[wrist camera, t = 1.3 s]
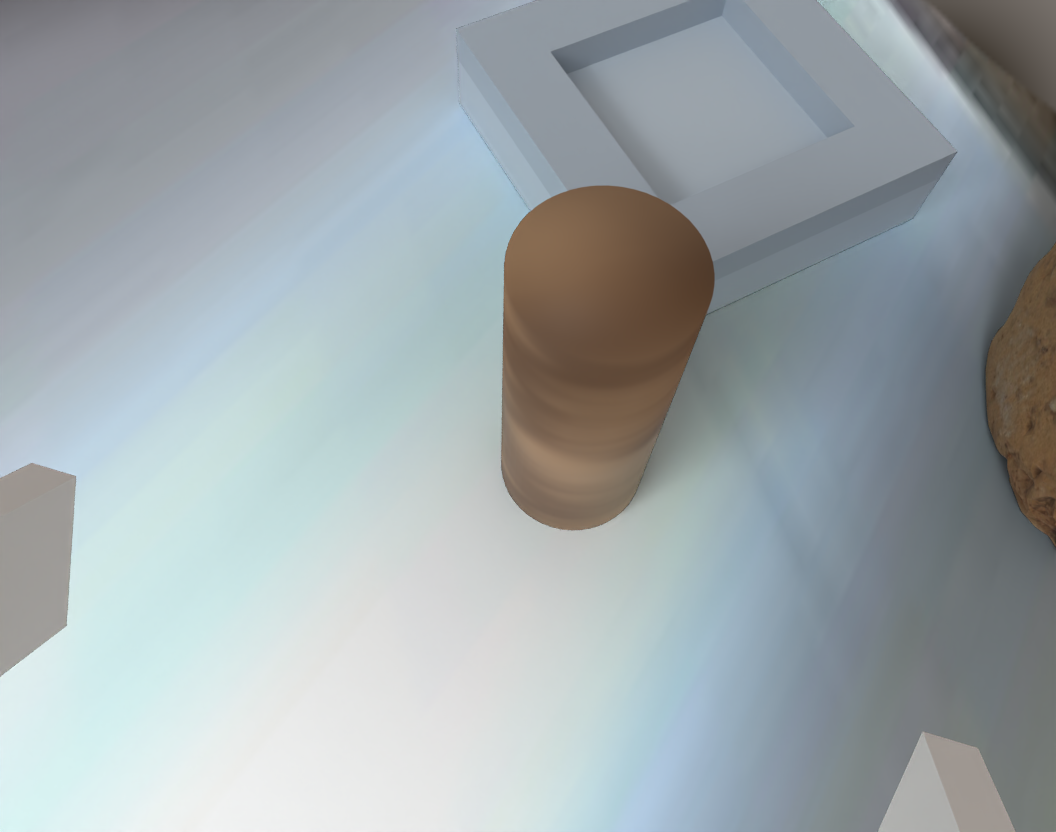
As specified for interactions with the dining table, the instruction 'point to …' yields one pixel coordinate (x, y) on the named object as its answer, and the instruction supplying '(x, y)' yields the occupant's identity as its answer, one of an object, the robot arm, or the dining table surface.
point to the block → (1028, 395)
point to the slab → (705, 122)
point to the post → (594, 346)
